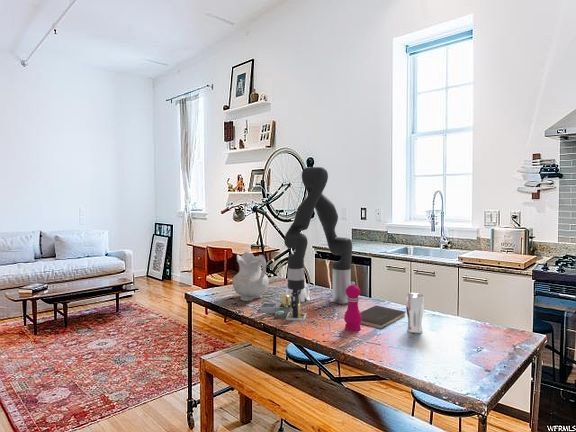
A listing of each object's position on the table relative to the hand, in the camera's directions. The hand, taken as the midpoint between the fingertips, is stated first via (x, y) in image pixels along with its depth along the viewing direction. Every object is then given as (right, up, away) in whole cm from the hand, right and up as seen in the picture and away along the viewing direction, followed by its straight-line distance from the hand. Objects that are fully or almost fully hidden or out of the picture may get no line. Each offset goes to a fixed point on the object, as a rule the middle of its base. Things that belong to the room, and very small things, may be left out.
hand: (296, 315), depth 180 cm
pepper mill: (+23, -3, -12) cm, 26 cm away
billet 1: (-5, 0, +11) cm, 12 cm away
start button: (-7, -1, +1) cm, 7 cm away
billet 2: (0, -2, 0) cm, 2 cm away
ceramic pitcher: (-23, 0, +35) cm, 42 cm away
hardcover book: (+37, -2, +2) cm, 37 cm away
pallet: (-9, -1, +12) cm, 15 cm away
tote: (0, -2, 0) cm, 2 cm away
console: (-7, -2, +1) cm, 7 cm away
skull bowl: (+2, 0, +29) cm, 29 cm away
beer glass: (+48, -3, -15) cm, 51 cm away
